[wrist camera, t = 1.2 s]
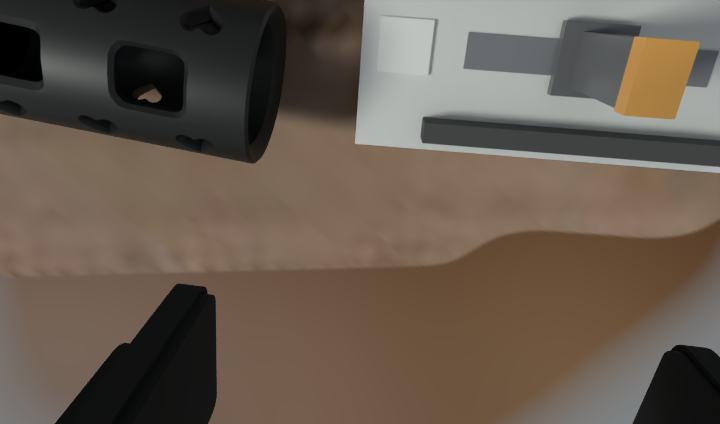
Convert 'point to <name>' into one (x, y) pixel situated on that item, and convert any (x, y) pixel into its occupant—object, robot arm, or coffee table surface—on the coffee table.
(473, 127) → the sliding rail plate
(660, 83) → the toggle
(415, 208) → the coffee table surface
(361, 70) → the breaker panel
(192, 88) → the muzzle brake
